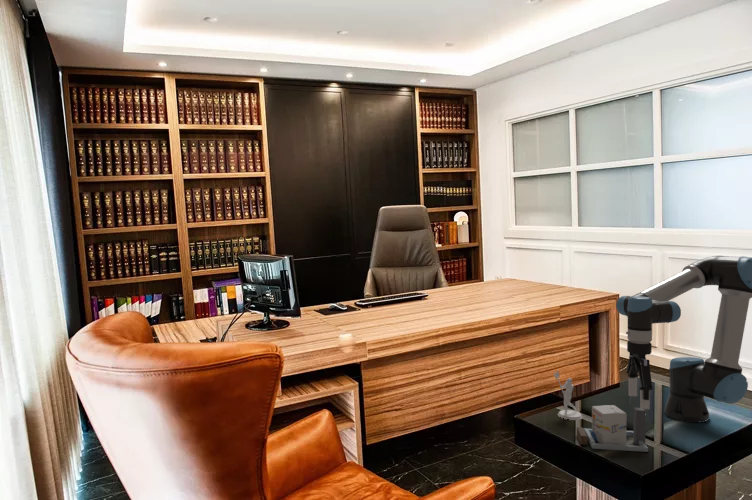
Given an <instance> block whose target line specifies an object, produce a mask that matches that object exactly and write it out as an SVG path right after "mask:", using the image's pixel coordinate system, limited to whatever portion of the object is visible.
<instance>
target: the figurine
mask: <svg viewBox="0 0 752 500" xmlns="http://www.w3.org/2000/svg"><path fill="white" fill-rule="evenodd" d="M553 373H554V374H553V375H554V378H555V380H556V381H558V383H559V388H560V389H561V393H562V395H563V407H564V409H561V410H560V411H558V413H557V416H558V417H559V418H560V417H561V418H560V419H563V418H564V419H563V420H567V419H569V420H568V421H579V420H582V419H583V418H584V417H583V415H582V413H580V412H579V411H578V410H577V406H576V405H574V404H573V403H571V399H572V395H573V394H572V393H573V390H574V388H575V387H574V385H573V379H572V378H571V377H567V378H566V381H565V382H564V384H561V382H560V373H559V370H556V373H555V372H553ZM563 389H565V390H563ZM568 407H572V409H568Z"/></svg>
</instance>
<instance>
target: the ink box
mask: <svg viewBox="0 0 752 500" xmlns="http://www.w3.org/2000/svg"><path fill="white" fill-rule="evenodd" d="M627 417H628V416H627V412H625V411H624V410H622V409H621V408H619V407H618V406H616V405H615V404H610V405H609V404H605V405H604V404H603V405H592V406H591V429H592V434H591V435H592V437H593V439H594V441H595V442H596V443H599V444H617V445H627V436H626V431H627Z"/></svg>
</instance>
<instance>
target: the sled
mask: <svg viewBox="0 0 752 500" xmlns="http://www.w3.org/2000/svg"><path fill="white" fill-rule="evenodd" d="M632 410H633V414H632V415H633V427H632V428H633V430H626V437H633V440H632V441H633V442H634V444H635V445H630V444H626V445H617V444H600V443H599V442H596V440H595V439H593V437H592V428H585V427H584V428H583V429H584V431H585V433H586V435H587V442H588V443H589V445H590V446H591V449H594V450H609V451H610V450H612V451H629V452H644V453H645V452H649V447H648V446H647V445H646V409H641V408H640V407H636V406H635V407H633V409H632Z"/></svg>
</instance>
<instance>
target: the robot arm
mask: <svg viewBox="0 0 752 500" xmlns="http://www.w3.org/2000/svg"><path fill="white" fill-rule="evenodd" d="M705 286H707V287H708V286H718V287H717V290H718V292H720V294H721V298H720V302H719V310H718V314H717V321H716V325H715V331H714V336H713V341H712V348H711V353H710V357H709V358H707V359H703V358H701V357H691V356H683V357H682V356H681V357H675V358H671V359H670V362H669V369H668V370H669V371H668V372H669V395H668V398H667V401H666V403H665V405H664V414H665V415H666V416H667V417H669V418H671V419H673V420H677V421H681V422H686V421H687V422H686V423H696V422H699V421H705V420H707V419H708V418H709V419H710V412H709V409H708V406H707V404H706V401H705V397H707V398H708V399H711V400H715V401H716V402H721V403H723V404H730V405H732V404H736V403H738V402H740V401H741V400H742V399H743V398H744V397H745V395H746V393H747V392H748V388H749V382H748V379H747V377H746V376H745V375H744V374H743V373H742V372H743V368H742V366H741V365H740V363H739V361H740V355H741V350H742V343H743V337H744V333H745V326H746V322H747V316H748V310H749V305H750V304H749V303H750V300H751V298H752V257H748V256H744V255H743V256H736V255H735V256H734V255H733V256H731V255H730V256H729V255H726V256H725V255H711V256H708V257H705V258H702V259H699V260H697V261H694V262H692V263H690V264H688V265H686V266H684V267H683V268H682V271H680V272H678V273H676V274H674V275H672V276H669V277H668V278H666V279H664V280H662V281H660V282H658V283H656V284H654V285H652V286H650V287H648V288H646V289H644V290H642V291H640V292H639V293H636V294H634V295H632V296H630V295H622V296H620V297H619V298H618V299H617V301H616V303H615V307H616V310H617V312H618V313H619V314H620V315H622V316H626V318H627V331H625V334H626V335H627V340H628V341H627V343H626V346H627V347H626V350H627V353H628V354H629V357H628V362H627V368H626V374H627V376H628V396H629V397H638V378H639V381H640V387H639V391H640V396H639V397H640V400H639V402H640V405H639V406H640V407H639V408H641V409H644V410H651V409H650V408H651V407H650V406H651V403H650V402H651V391H653V390H654V388H653V382H652V374H651V368H650V364H651V363H650V359H647V357H646V356H647V355H651V354H652V347H653V346H652V343H651V342H652V341H653V324H663V323H664V324H669V323H674V322H677V321H678V320H679V319H680V318H681V315H682V312H681V311H682V310H681V307H680V305H679V304H678V303H677V302H675V301H674V300H673V299H675V298H677V297H679V296H681V295H683V294H685V293H686V292H689V291H691V290H692V289H701V288H703V287H705ZM699 423H700V422H699Z"/></svg>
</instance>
